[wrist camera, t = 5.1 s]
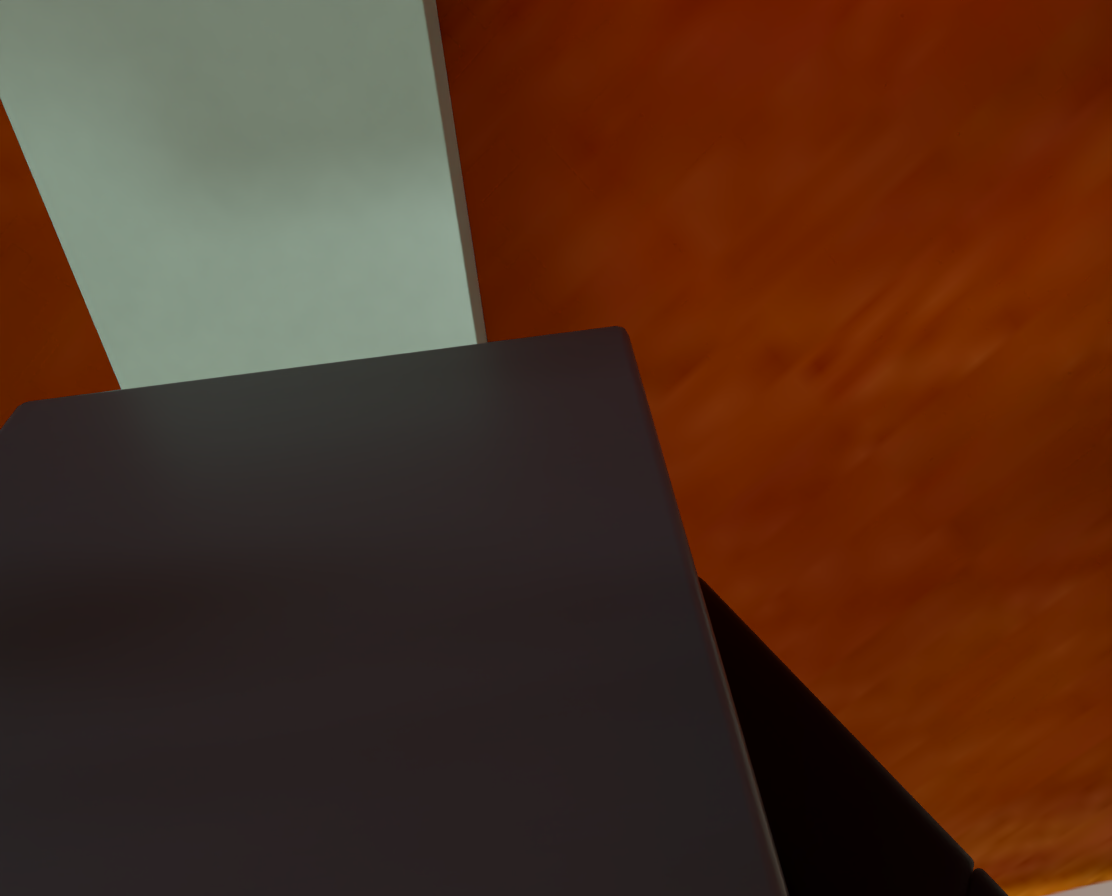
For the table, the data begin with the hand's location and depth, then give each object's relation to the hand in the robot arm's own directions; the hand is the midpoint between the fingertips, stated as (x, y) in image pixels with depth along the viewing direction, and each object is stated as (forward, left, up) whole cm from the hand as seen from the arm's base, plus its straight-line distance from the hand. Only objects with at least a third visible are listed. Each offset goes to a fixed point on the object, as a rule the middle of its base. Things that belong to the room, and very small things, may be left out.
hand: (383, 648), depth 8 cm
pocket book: (+2, +3, -13) cm, 13 cm away
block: (0, 0, -1) cm, 1 cm away
